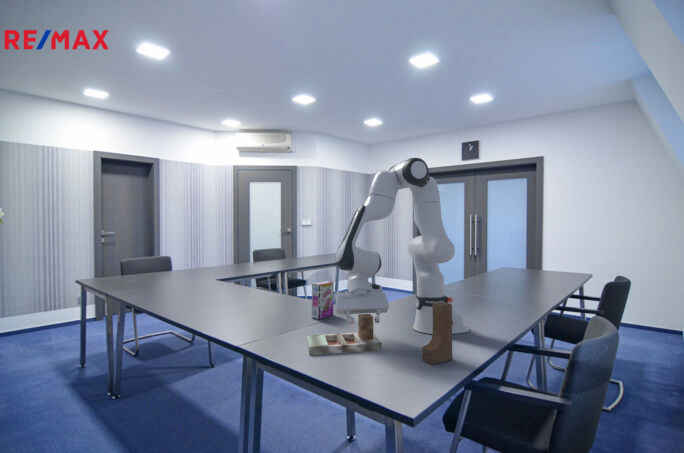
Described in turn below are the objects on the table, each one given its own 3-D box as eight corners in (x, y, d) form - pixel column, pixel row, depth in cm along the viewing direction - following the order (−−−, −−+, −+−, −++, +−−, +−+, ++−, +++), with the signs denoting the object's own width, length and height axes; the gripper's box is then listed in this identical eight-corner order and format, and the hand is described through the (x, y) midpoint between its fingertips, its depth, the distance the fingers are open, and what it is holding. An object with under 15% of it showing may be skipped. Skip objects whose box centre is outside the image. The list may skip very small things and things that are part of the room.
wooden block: (431, 365, 106) (431, 307, 106) (421, 360, 110) (421, 304, 110) (452, 360, 110) (452, 304, 110) (442, 355, 114) (442, 301, 114)
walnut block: (370, 335, 127) (370, 313, 127) (373, 339, 123) (373, 317, 123) (358, 336, 127) (358, 314, 127) (361, 340, 122) (361, 317, 122)
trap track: (372, 338, 132) (371, 331, 132) (381, 350, 119) (381, 342, 119) (306, 342, 128) (306, 335, 128) (309, 355, 115) (309, 347, 115)
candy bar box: (319, 320, 158) (319, 284, 158) (311, 318, 161) (311, 283, 161) (334, 315, 167) (334, 281, 167) (326, 313, 170) (326, 280, 170)
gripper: (333, 287, 131) (337, 319, 121) (385, 285, 134) (393, 316, 125) (332, 296, 135) (335, 328, 126) (382, 294, 139) (389, 325, 129)
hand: (365, 322), depth 125 cm, fingers open, 8 cm apart
